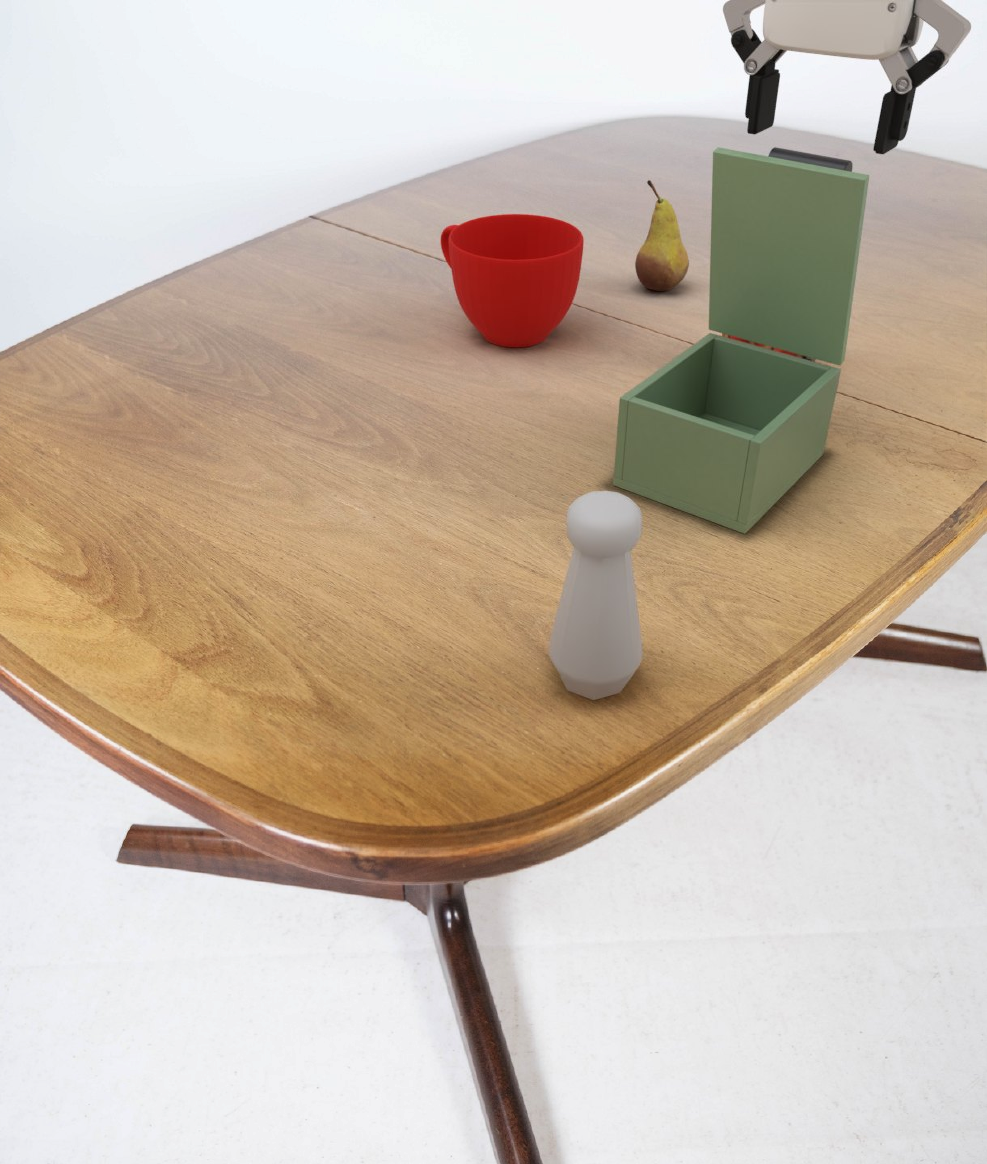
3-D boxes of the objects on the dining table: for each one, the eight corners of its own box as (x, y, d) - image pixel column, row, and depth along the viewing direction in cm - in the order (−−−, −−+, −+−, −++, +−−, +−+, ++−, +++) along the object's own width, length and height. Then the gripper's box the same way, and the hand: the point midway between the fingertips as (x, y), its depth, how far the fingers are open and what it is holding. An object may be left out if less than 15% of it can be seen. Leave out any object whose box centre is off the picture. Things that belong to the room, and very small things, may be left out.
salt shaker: (656, 695, 66) (677, 520, 59) (572, 720, 65) (581, 543, 57) (613, 639, 71) (627, 469, 63) (533, 660, 69) (537, 488, 61)
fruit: (684, 300, 116) (696, 186, 109) (631, 296, 117) (639, 183, 110) (687, 280, 120) (699, 170, 113) (636, 277, 121) (644, 167, 114)
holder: (745, 534, 80) (760, 443, 76) (612, 485, 86) (619, 397, 81) (823, 454, 90) (841, 368, 85) (699, 414, 95) (709, 332, 91)
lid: (865, 179, 74) (894, 148, 76) (712, 151, 79) (744, 122, 82) (840, 366, 85) (866, 333, 87) (708, 329, 90) (736, 299, 93)
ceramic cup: (489, 288, 119) (488, 196, 113) (605, 333, 109) (611, 236, 103) (399, 322, 111) (393, 226, 105) (515, 374, 102) (516, 271, 96)
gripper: (1023, -142, 67) (956, 146, 77) (766, -146, 75) (736, 114, 85) (987, -136, 62) (920, 170, 72) (716, -142, 71) (691, 134, 81)
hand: (820, 139), depth 79 cm, fingers open, 9 cm apart
